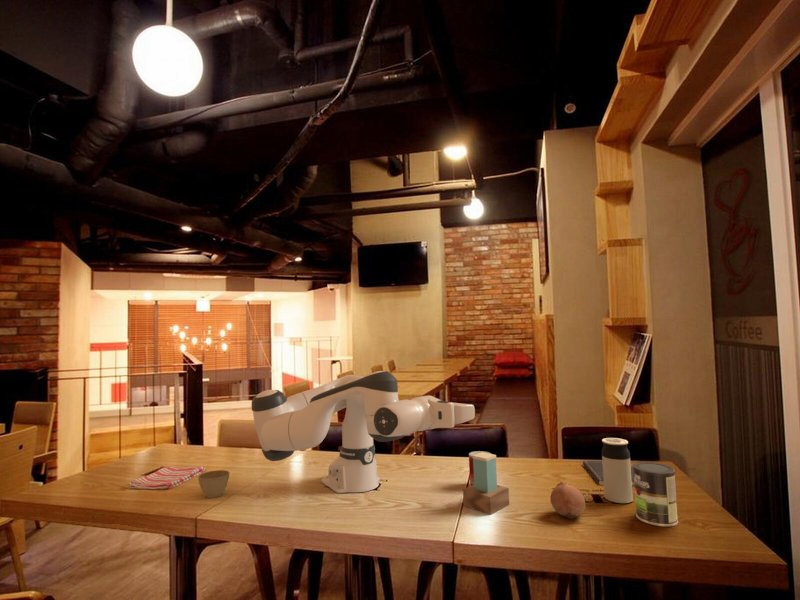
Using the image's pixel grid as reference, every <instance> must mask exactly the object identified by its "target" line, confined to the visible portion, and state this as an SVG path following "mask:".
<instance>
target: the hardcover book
mask: <svg viewBox="0 0 800 600" xmlns="http://www.w3.org/2000/svg"><path fill="white" fill-rule="evenodd" d="M582 465H584V466H585V467H584V466H583V467H584V468H585V470H586V469H587V470H588V471H587V470H586V471H587V472H588V474H589V475H590V474H591V475H590V476H591V477H592V479H594V480H593V481H595V482H596V483H597V485H598V486H604V479H603V464H602V460H583V461H582ZM631 479H632V487H633V486H634V487H635V484H634V469H633V465H631Z"/></svg>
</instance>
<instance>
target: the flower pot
mask: <svg viewBox="0 0 800 600" xmlns="http://www.w3.org/2000/svg"><path fill="white" fill-rule="evenodd" d="M230 474H231V473H230V471H229V470H224V469H222V470H221V469H220V470H210V471H206V472H205V471H204V472H202V473H201V474H199V475H197V478H198V482H199V483H198V484H199V486H200V490H201V492H202V493H203V495H204V496H205V498H207V499H214V498H218V497H220V496H222V495H223V493H224V492H225V490H226V487H227V486H228V485H227V484H228V482H229V479H230Z"/></svg>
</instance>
